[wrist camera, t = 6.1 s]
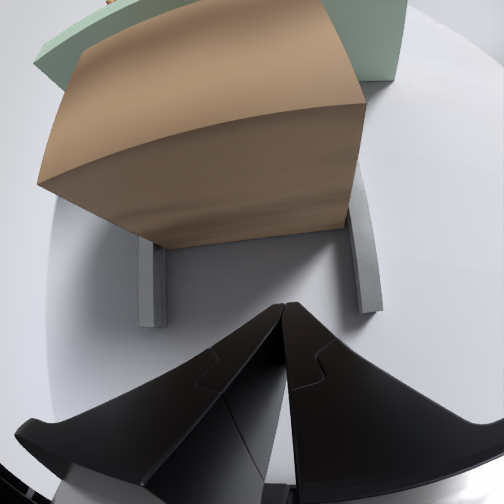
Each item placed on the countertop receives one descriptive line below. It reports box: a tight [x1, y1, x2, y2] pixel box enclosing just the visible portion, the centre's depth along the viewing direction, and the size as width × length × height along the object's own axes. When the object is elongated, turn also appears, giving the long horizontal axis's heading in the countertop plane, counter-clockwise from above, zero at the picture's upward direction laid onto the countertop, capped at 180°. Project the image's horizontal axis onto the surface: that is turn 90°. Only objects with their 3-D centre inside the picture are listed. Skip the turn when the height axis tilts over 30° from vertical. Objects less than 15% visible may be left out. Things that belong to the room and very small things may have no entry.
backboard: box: [33, 0, 407, 91], centre depth 14 cm, size 2×22×10 cm, turn 94°
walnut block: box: [37, 0, 366, 250], centre depth 12 cm, size 7×10×10 cm
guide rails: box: [138, 160, 383, 327], centre depth 16 cm, size 15×13×2 cm
